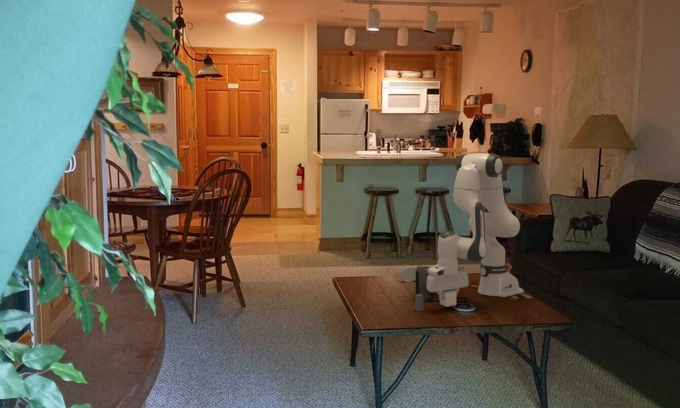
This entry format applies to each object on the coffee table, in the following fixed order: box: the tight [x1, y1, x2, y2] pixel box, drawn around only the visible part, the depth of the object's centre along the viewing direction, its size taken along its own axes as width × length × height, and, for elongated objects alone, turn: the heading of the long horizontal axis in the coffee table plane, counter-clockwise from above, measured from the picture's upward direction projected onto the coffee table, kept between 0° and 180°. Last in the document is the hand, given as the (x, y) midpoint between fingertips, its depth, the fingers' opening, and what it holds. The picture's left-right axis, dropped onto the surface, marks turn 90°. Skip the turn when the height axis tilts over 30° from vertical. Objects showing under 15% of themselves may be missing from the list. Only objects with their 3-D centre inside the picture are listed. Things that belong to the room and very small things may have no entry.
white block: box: [439, 289, 457, 308], centre depth 276 cm, size 5×5×7 cm
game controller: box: [399, 265, 433, 283], centre depth 327 cm, size 20×2×8 cm, turn 100°
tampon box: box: [415, 265, 437, 303], centre depth 293 cm, size 11×9×15 cm
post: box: [414, 293, 424, 312], centre depth 275 cm, size 3×3×7 cm
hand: (447, 298), depth 276 cm, fingers closed on white block, 5 cm apart
